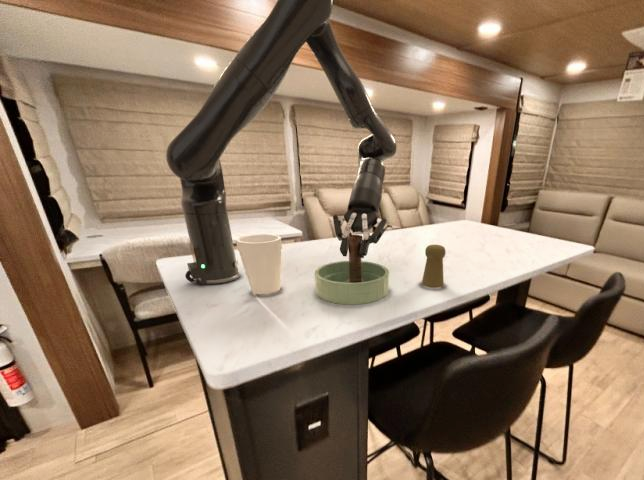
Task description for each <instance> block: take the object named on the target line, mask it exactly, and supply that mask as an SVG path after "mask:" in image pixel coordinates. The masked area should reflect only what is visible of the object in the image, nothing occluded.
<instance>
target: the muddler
mask: <svg viewBox="0 0 644 480" xmlns="http://www.w3.org/2000/svg"><path fill="white" fill-rule="evenodd" d="M363 239H364V238H363V235H361V234H354V235H349V236H347V241H348V244H349V248H348V261H349V279H348V280H347V283H359V282H365V281H364V279H362V261H363V260H362V258H360V255H359V251H360V246H361V242H362V240H363Z"/></svg>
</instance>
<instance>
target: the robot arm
mask: <svg viewBox="0 0 644 480" xmlns="http://www.w3.org/2000/svg"><path fill="white" fill-rule="evenodd" d="M333 4H334V0H276V2H275V4H274V5H273V7H272V9H271V11H270V13H269V14H268V16H267V17H266V19H265V20H264V21H263V22H262V24H261V25H260V26H258V28H257V29H256V30H255V31H254V32H253V33H252V34H251V36H250V37H249V38H248V39H247V41H246V42H245V43H244V45H243V46H242V47H241V48H240V49H239V50H238V52H237V53H236V54H235V56H233V58H232V59H231V61H230V62H229V64H228V65H227V67H225V69H224V71H223V72H222V74H221V75H220V76H219V79H217V82H216V83H215V85H214V86H213V88H212V89H211V91H210V92H209V95H208V96H207V97H206V99H205V101H204V103H203V105H202V106H201V108H200V109H199V111H198V112H197V113H196V115H195V116H194V117H193V118H192V119H191V120H190V122H188V123H187V124H186V126H185V127H184V128H183V129H181V131H180V132H179V133H178V134H177V135H176V136H175V137H174V138H173V139H172V140H171V141H170V143H169V144H168V146H167V148H166V153H165V159H166V163H167V166H168V168H169V169H170V171H171V172H172V173H173V174H174V175H175V176H176V177H177V178H179V180H180V185H181V200H180V204H181V208H182V213H183V217H184V221H185V225H186V230H187V234H188V239H189V248H190V252H191V256H192V261H193V262H188V263H186V264H187V269H188V270H187V271H186V272H185V279H186V280H187V281H188V282H190V283H194V282H195V280H198V282H199V283H200V284H201V285H215V284H217V285H219V284H224V283H230V282H232V281H235V280H237V279H239V277H240V273H239V268H238V266H239V262H238V259H237V257H236V252H235V247H234V242H233V236H232V230H231V225H230V219H229V214H228V207H227V191H226V186H225V185H226V184H225V180H224V174H223V168H222V163H221V157H222V155H223V154H224V152H225V151H226V149H227V147H228V146H229V145H230V143H231V142H232V140H233V139H234V138H235V137H236V136H237V135H238V134H239V133H240V132H241V131H242V130H244V129H245V128H246V127H247V126H248V125H249V124H250V123H252V122H253V121H254V120H255V119H256V118H257V117H258V116H259V115H260V113H261V112H262V111H263V110H264V109H265V107H266V106H267V105H268V104H269V102H270V101H271V100H272V98H273V96H274V95H275V94H276V92H277V91H278V89H279V88H280V86H281V84H282V82H283V81H284V79H285V77H286V75H287V73H288V71H289V69H290V67H291V66H292V63H293V61H294V59H295V57H296V56H297V54H298V52H299V51H300V50H301V48H302V47H303V46H304V44H306V45H307V47H309V49H310V50H311V53H312V54H313V56H314V57H315V59H316V60H317V62H318V64H319V65H320V67H321V69H322V70H323V72H324V74H325V76H326V78H327V80H328V81H329V84H330V86H331V88H332V90H333V91H334V93H335V96H336V97H337V100H338V101H339V104H340V106H341V108H342V110H343V112H344V114H345V115H346V117H347V119H348V122H349V124H350V125H351V127H352V128H353V129H354V130H364V129H365V130H368V131H369V132H370V133H371V134H370V135H368V136H366V137H363V139H361V140H360V142H359V143H358V146H357V161H358V169H357V171H356V172H357V174H356V177H355V180H354V182H353V185H352V189H351V193H350V196H349V199H348V204H347V209H346V211H345V213H344V214H343V215H340V216H338V215H337V214H334V215H332V219H333V226H334V227H333V228H334V234H335V235H336V238H337V240H338V241H340V245H339V252H340V254H341V255H342V257H347V256H348V253H349V244H348V241H347V236H349V235H356V233H362V234H363V235H362V237H363V240H362V242H361V246H360V251H359V255H360V258H361V259H364V258H365V257H366V256H367V255H368V253H369V252H368V251H369V246H370V244H375V245H376V244H377V243H378V242H379V241H380V240H381V238H382V236H383V235H384V233H385V232H386V230H387V229H388V221H387V218H379V216H378V215H379V210H380V205H381V200H382V198H383V185H384V182H385V181H384V180H385V176H386V175H385V174H386V167H385V164H384V161H386V160H390V159H391V158H393V157H394V156H395V155H396V153H397V140H396V137H395V136H394V134H393V133H392V132H391V130H390V129H389V127H387V125H386V123H385V122H384V121H383V120H382V118H381V117H380V115H379V114H378V113H377V111H376V110H375V108H374V106H373V103H372V102H371V101H372V100H371V99H370V97H369V95H368V93H367V90H366V89H365V86H364V84H363V83H362V81H361V79H360V77H359V76H358V74H357V73H356V71H355V69H354V68H353V67H352V65H351V64H350V62H349V61H348V59H347V58H346V56H345V55H344V53H343V51H342V49H341V47H340V45H339V43H338V41H337V38H336V36H335V32H334V30H333V27H332V23H331V22H330V18H331V16H332V13H333ZM344 222H346V225H345V227H344V231H343V230H342V227H343V225H344ZM375 226H376V227H375ZM373 227H375V229H374V230H373V232H372V233H371V229H372V228H373Z"/></svg>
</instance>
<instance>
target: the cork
mask: <svg viewBox="0 0 644 480" xmlns="http://www.w3.org/2000/svg"><path fill="white" fill-rule="evenodd" d="M424 252H425V253H424V254H425V258H426V261H425V266H424V270H423V275H422V279H421V284H422V286H424V287H427V288H431V289H434V288H435V289H436V288H437V289H439V288H442V289H444V287H445V286H444V285H445V283H444V281H445V280H444V258H445V256H446V248H445V247H444V246H443V245H441V244H429V245H427V246H426V248H425V250H424Z"/></svg>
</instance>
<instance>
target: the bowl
mask: <svg viewBox="0 0 644 480" xmlns="http://www.w3.org/2000/svg"><path fill="white" fill-rule="evenodd" d="M348 279H349V260H342V261H335V262H330V263H325V264H323V265H321V266H319V267H317V268H316V269H315V271H314V281H315V293H316V295H317V297H319V298H320V299H321V300H323V301H325V302H329V303H333V304H338V305H350V306H351V305H363V304H369V303H373V302H377V301H380V300H381V299H383V298H385V297H386V296H387V295H388V294H389V291H390V271H389V269H388V268H387V267H386V266H385V265H382V264H380V263H375V262H371V261H366V260H362V279H364V281H365V282H359V283H347V280H348Z"/></svg>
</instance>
